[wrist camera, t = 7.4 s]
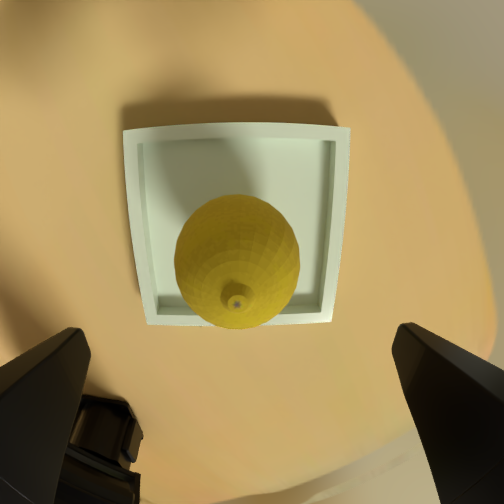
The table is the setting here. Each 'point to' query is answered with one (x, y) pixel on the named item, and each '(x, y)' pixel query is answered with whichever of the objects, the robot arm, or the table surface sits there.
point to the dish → (237, 182)
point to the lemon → (237, 261)
